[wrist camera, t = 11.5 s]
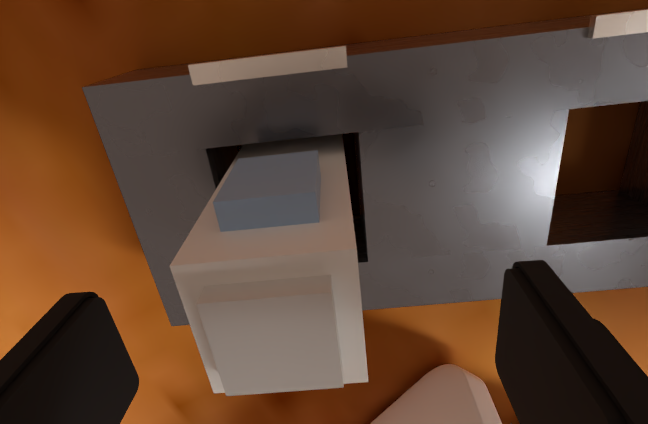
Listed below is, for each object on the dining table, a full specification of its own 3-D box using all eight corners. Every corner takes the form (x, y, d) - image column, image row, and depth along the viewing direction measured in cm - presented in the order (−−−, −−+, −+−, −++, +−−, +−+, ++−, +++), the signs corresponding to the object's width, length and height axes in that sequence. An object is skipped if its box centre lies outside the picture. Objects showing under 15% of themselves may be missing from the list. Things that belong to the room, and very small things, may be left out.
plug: (339, 105, 17) (355, 229, 7) (348, 206, 19) (370, 402, 10) (245, 115, 17) (146, 249, 8) (265, 214, 19) (207, 414, 10)
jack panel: (762, -15, 15) (912, -23, 11) (680, 227, 19) (766, 281, 16) (133, 62, 16) (73, 78, 12) (198, 271, 21) (169, 330, 17)
